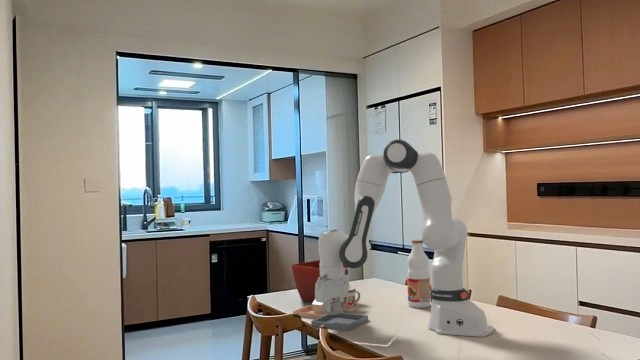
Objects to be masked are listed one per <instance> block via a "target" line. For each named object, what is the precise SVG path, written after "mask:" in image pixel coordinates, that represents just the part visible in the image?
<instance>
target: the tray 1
mask: <svg viewBox="0 0 640 360" xmlns="http://www.w3.org/2000/svg"><path fill="white" fill-rule="evenodd" d="M293 313H298V314H300V316H301V317H300V318H306V319H307V318H308V319H313V320H315V319H317V318H319V317H322V316H324V315H327V314H315V313H314V310H313V306H312V304H309V305H306V306H303V307H300V308H297V309H295V310H292V314H293Z"/></svg>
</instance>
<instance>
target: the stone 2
mask: <svg viewBox="0 0 640 360" xmlns="http://www.w3.org/2000/svg"><path fill="white" fill-rule="evenodd" d="M330 305H331V307H332V311H331V312H327V311H326V306H325V314H328V315H337V314H340V313H343V311H342V304H341V301H338V300H331V302H330Z"/></svg>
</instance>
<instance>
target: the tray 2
mask: <svg viewBox="0 0 640 360" xmlns="http://www.w3.org/2000/svg"><path fill="white" fill-rule="evenodd" d="M368 321H369V315H366V314H358V313H357V314H356V313H348V312H342V313H340V314H337V315H328V314H327V315H324V316H322V317H319V318H317V319H313V320H311V327H317V328H322V327H321V325H323V324H324V325H325V326H326V327H327V328H326V329H329V330H330V329H331V330H338V331H345V332H348V331H350V330H353V329H354V328H356V327H359V326H360V325H362V324H364V323H366V322H368Z"/></svg>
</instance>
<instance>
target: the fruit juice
mask: <svg viewBox="0 0 640 360" xmlns="http://www.w3.org/2000/svg"><path fill="white" fill-rule="evenodd" d="M423 244H424V242H423V240H422V239H412V240H411V245H412V247H411V252H410V254H409V255H408V257H407V260H406V263H407V267H408V268H407V271H406V272H407V273H406V274H407V277H406V280H407V304H408V306H409V307H411V308H417V309H424V308H425V309H426V308H429V307H430V306H431V299H430V288H431V273H430V270H429V264H430V261H429V257H428V256H427V254H426V253H425V251H424V250H425V249H424V247H423V246H424V245H423Z"/></svg>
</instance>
